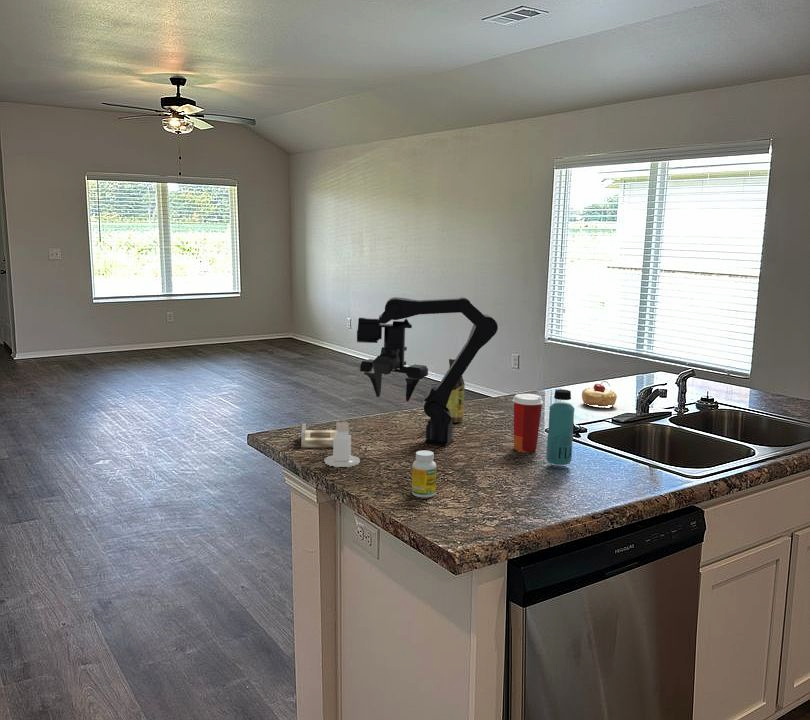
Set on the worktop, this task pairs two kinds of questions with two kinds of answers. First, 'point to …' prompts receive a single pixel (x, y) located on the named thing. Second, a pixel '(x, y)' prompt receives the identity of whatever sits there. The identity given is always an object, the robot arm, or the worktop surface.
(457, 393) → the sauce bottle
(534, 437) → the coffee cup
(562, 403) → the beverage bottle
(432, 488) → the supplement bottle
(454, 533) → the worktop surface
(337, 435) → the pepper shaker
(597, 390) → the pastry
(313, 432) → the square wooden frame
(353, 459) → the coaster
